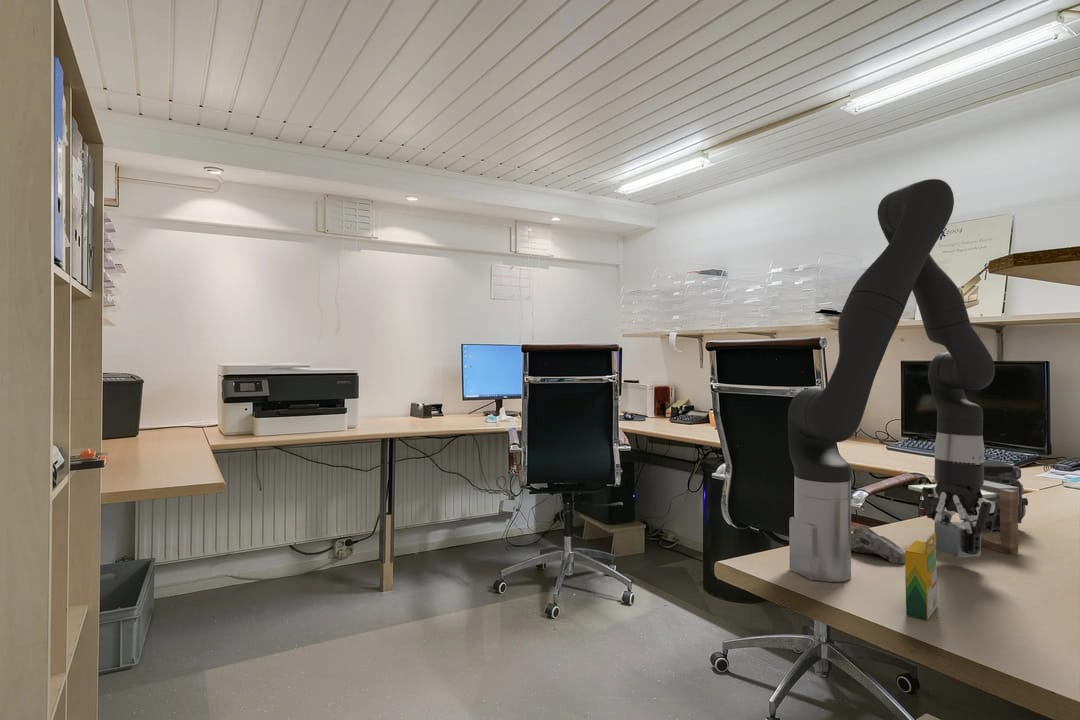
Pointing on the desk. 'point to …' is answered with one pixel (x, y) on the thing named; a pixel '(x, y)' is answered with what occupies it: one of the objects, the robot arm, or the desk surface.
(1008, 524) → the frame
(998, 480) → the camera
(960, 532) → the iron cube
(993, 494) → the trapdoor
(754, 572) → the desk surface
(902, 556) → the fossilized seashell
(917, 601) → the crayon box
